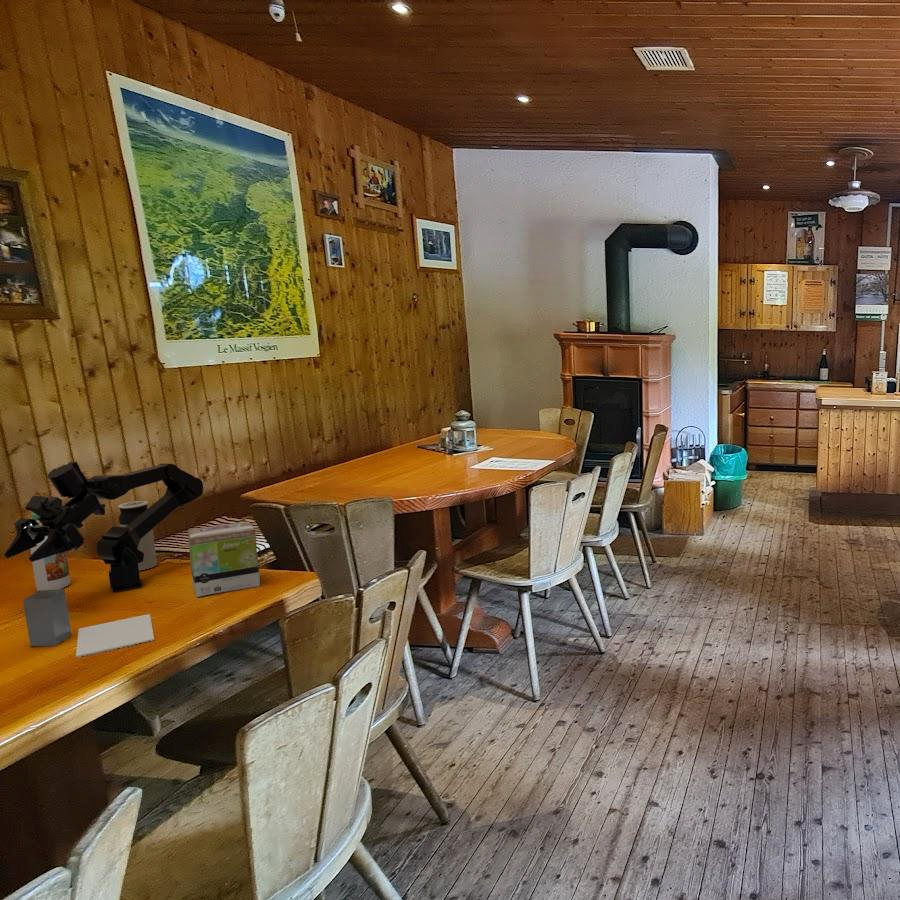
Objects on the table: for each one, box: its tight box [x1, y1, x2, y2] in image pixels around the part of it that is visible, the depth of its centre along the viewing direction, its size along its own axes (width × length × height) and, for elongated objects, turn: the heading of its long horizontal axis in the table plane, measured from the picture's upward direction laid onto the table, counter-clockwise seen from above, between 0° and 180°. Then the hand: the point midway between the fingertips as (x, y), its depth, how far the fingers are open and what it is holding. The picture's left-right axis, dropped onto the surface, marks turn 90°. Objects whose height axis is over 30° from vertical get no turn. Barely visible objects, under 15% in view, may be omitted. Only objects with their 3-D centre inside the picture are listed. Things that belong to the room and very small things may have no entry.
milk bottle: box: [30, 512, 71, 592], centre depth 179 cm, size 8×8×20 cm
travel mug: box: [117, 500, 158, 571], centre depth 191 cm, size 8×8×18 cm
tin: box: [22, 588, 72, 647], centre depth 144 cm, size 5×5×10 cm
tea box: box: [187, 520, 261, 598], centre depth 171 cm, size 15×10×15 cm, turn 114°
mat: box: [75, 613, 155, 659], centre depth 145 cm, size 14×16×1 cm
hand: (17, 558), depth 153 cm, fingers open, 9 cm apart
